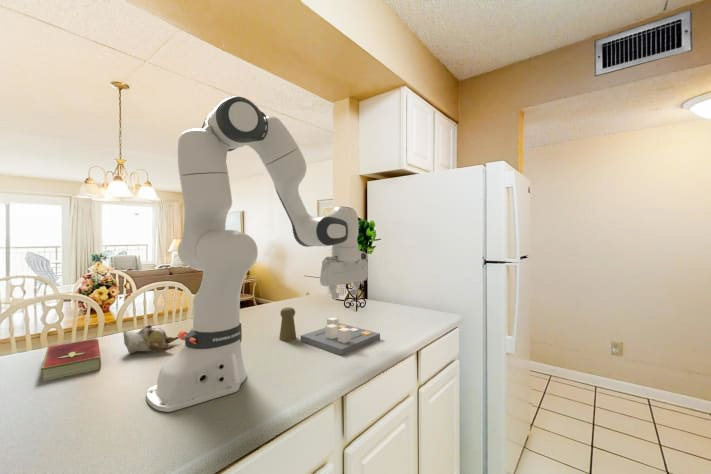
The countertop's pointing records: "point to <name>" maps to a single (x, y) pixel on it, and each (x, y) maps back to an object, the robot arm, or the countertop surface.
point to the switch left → (332, 321)
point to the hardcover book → (71, 359)
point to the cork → (287, 324)
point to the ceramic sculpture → (147, 340)
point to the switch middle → (331, 331)
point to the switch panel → (357, 341)
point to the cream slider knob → (344, 335)
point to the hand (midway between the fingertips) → (345, 296)
